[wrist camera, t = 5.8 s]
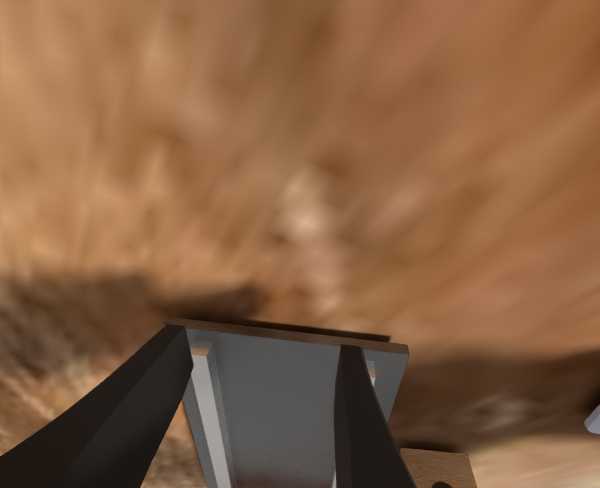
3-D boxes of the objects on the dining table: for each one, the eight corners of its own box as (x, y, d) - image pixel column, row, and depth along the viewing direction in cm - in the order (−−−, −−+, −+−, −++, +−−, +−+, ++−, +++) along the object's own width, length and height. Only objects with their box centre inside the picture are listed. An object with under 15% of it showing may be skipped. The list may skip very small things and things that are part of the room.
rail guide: (407, 344, 16) (416, 394, 13) (354, 517, 27) (355, 559, 25) (168, 316, 17) (140, 358, 15) (213, 493, 28) (202, 532, 26)
